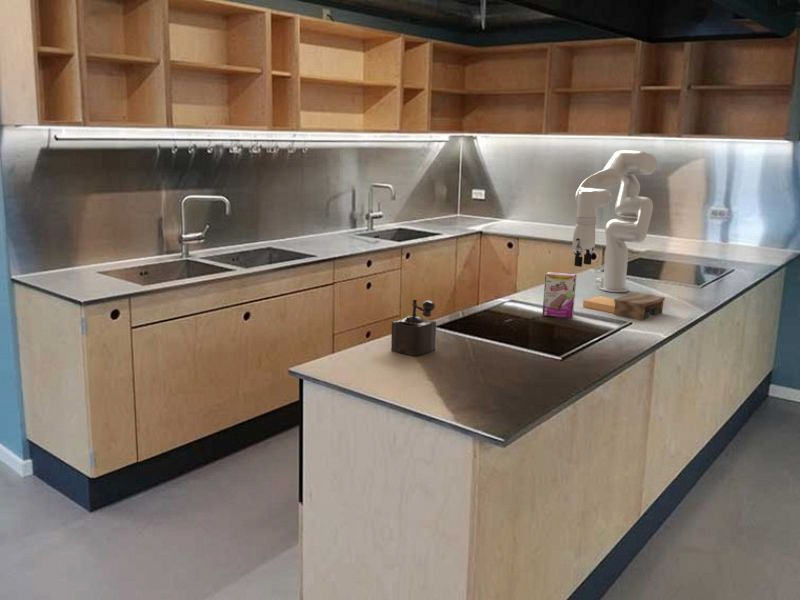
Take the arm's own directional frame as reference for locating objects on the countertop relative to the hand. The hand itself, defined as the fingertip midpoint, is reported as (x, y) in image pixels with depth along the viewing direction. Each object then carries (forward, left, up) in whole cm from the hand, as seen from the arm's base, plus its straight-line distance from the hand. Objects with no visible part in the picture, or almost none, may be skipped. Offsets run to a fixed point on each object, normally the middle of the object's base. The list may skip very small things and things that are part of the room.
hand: (582, 264), depth 292 cm
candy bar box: (+7, -27, -16) cm, 32 cm away
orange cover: (+12, 0, -16) cm, 20 cm away
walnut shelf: (+25, 0, -16) cm, 29 cm away
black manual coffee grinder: (+3, -99, -16) cm, 100 cm away
